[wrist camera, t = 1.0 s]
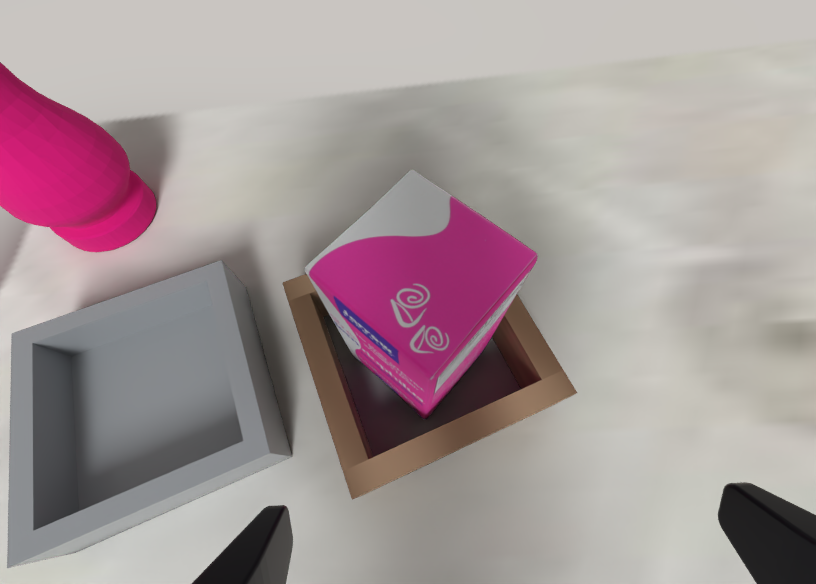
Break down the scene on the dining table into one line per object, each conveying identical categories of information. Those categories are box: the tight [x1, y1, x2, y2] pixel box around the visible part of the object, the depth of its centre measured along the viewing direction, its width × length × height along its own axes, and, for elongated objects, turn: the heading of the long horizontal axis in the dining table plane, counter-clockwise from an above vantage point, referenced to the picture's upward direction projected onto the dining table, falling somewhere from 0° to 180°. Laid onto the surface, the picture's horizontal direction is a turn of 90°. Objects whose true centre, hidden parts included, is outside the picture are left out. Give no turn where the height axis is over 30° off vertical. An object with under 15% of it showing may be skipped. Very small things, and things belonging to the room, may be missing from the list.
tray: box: [7, 260, 292, 568], centre depth 20 cm, size 11×11×4 cm
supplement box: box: [305, 169, 538, 420], centre depth 18 cm, size 6×6×12 cm
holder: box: [283, 274, 577, 499], centre depth 21 cm, size 11×11×4 cm
